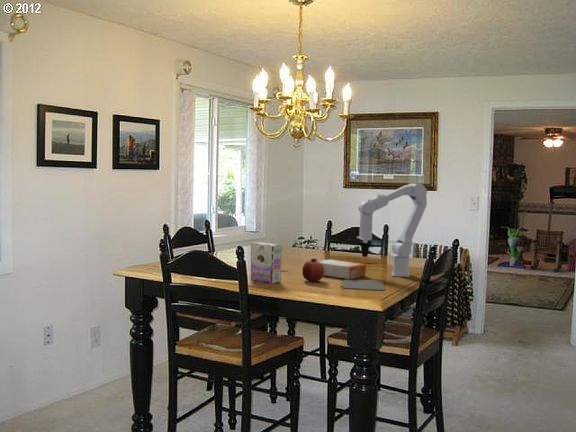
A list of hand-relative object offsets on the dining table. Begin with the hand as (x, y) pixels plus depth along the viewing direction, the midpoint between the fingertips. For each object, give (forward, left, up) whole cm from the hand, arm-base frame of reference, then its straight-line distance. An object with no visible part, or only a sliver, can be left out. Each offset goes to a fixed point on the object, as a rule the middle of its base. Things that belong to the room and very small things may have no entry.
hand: (364, 256), depth 284 cm
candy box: (+26, -42, -9) cm, 50 cm away
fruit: (+21, -22, -9) cm, 32 cm away
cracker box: (+8, -2, -6) cm, 10 cm away
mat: (+24, 0, -9) cm, 26 cm away
